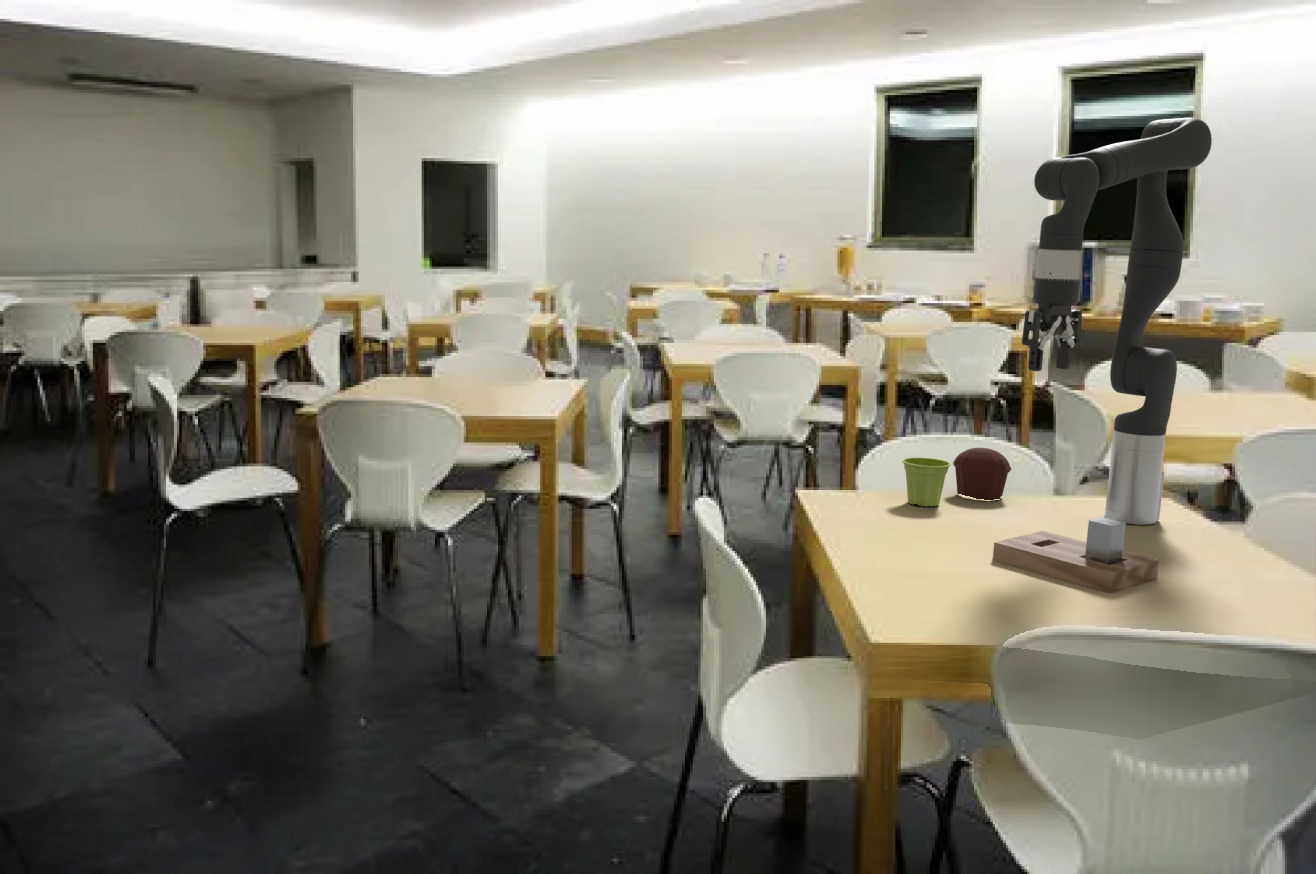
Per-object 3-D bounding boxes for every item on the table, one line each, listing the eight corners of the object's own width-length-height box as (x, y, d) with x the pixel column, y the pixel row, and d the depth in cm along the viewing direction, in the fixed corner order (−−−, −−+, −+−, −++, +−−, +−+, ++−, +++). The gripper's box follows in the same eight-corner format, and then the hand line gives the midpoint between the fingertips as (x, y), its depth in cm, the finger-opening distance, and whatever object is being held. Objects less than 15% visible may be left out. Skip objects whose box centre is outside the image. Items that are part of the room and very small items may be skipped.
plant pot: (892, 498, 232) (895, 456, 231) (935, 498, 234) (938, 456, 232) (910, 509, 223) (913, 466, 222) (955, 509, 225) (958, 466, 223)
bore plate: (1041, 547, 198) (1042, 530, 198) (1157, 578, 182) (1159, 560, 182) (992, 559, 190) (994, 542, 189) (1110, 592, 173) (1112, 573, 173)
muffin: (1012, 495, 239) (1016, 448, 238) (1004, 505, 229) (1009, 456, 228) (955, 488, 244) (958, 442, 243) (944, 498, 234) (948, 450, 233)
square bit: (1096, 571, 185) (1102, 517, 183) (1119, 577, 182) (1125, 522, 180) (1083, 575, 182) (1088, 520, 181) (1106, 581, 179) (1112, 525, 178)
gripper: (1053, 277, 191) (1044, 374, 194) (1099, 277, 200) (1090, 370, 202) (1014, 275, 196) (1006, 369, 199) (1061, 275, 205) (1052, 365, 208)
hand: (1048, 369), depth 201 cm, fingers open, 8 cm apart
